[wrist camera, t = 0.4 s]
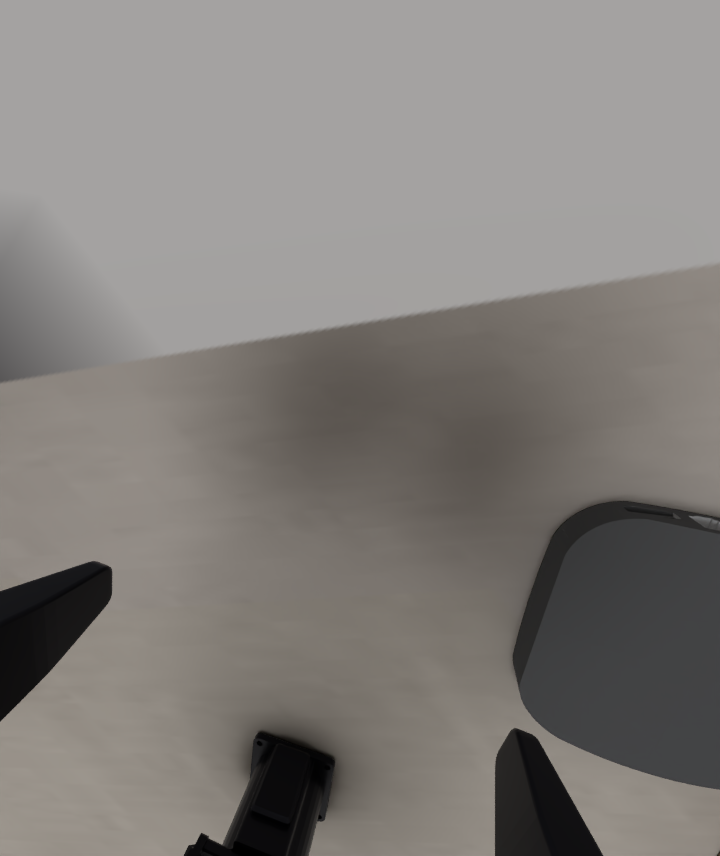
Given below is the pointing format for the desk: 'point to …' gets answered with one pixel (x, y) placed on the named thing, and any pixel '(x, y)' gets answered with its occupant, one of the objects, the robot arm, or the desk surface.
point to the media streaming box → (629, 640)
